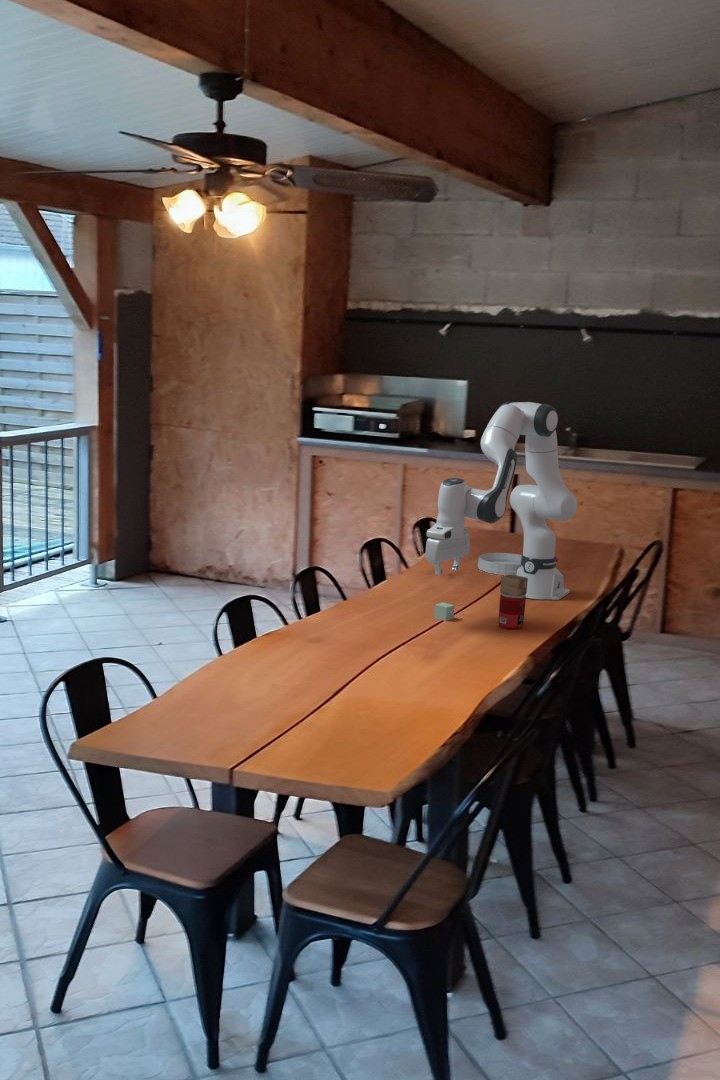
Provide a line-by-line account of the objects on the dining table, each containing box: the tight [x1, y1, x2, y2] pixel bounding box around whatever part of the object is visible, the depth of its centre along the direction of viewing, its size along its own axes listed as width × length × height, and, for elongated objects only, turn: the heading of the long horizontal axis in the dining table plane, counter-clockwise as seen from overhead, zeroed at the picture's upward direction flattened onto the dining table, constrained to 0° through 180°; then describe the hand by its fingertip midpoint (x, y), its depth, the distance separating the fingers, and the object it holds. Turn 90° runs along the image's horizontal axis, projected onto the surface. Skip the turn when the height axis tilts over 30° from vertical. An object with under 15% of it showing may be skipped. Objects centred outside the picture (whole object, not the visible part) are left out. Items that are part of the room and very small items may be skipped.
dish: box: [477, 552, 522, 576], centre depth 418 cm, size 22×22×5 cm
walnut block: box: [499, 574, 528, 596], centre depth 333 cm, size 6×6×5 cm
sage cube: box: [433, 602, 455, 622], centre depth 341 cm, size 4×4×4 cm
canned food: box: [497, 593, 527, 631], centre depth 335 cm, size 8×8×11 cm
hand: (446, 572), depth 339 cm, fingers open, 8 cm apart
